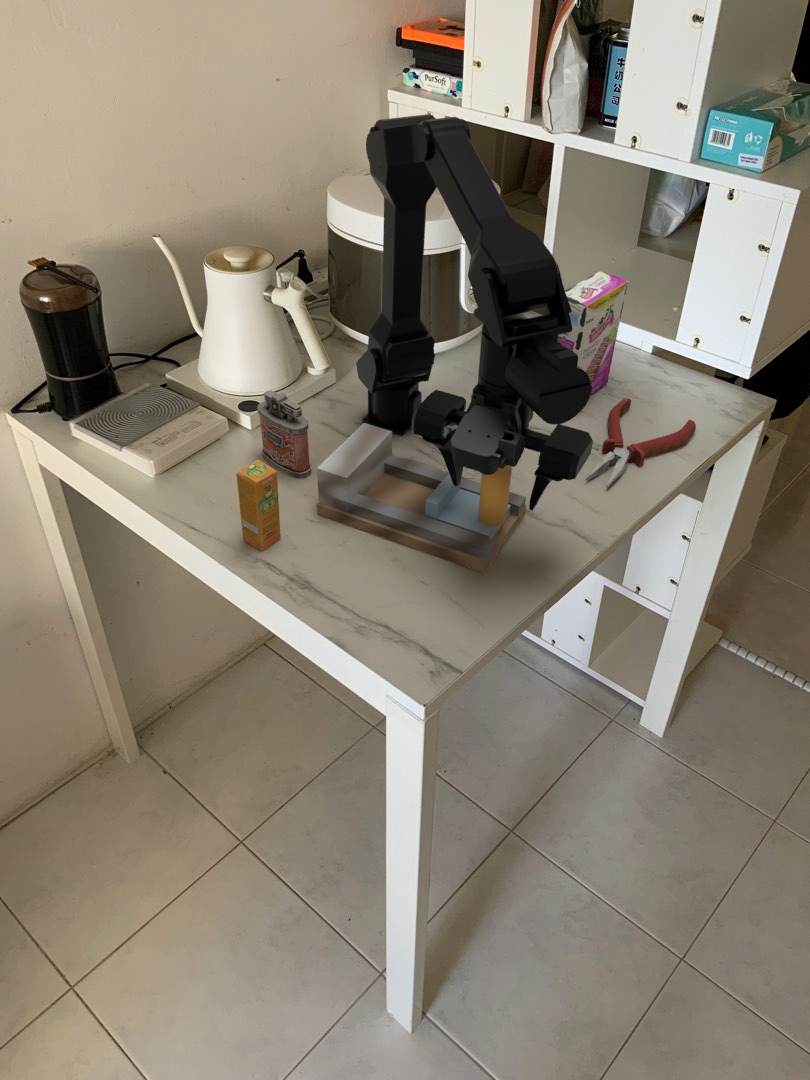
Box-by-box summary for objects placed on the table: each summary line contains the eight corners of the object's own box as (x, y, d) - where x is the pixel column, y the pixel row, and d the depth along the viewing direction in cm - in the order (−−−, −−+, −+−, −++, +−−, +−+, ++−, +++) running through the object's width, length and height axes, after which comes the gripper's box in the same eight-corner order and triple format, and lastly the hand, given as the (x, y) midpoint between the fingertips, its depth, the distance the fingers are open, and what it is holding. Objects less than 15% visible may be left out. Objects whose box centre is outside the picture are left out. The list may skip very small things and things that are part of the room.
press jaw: (424, 523, 102) (427, 464, 96) (448, 494, 106) (451, 436, 101) (492, 547, 99) (499, 487, 93) (514, 515, 103) (521, 457, 98)
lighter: (256, 456, 114) (248, 389, 108) (276, 446, 116) (270, 379, 110) (297, 482, 110) (292, 414, 104) (317, 471, 112) (313, 403, 106)
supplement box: (263, 553, 100) (254, 482, 93) (242, 540, 101) (232, 470, 95) (284, 538, 102) (277, 468, 95) (263, 526, 103) (255, 457, 97)
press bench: (317, 514, 105) (314, 470, 101) (366, 463, 113) (365, 420, 109) (485, 573, 98) (489, 528, 94) (524, 514, 106) (530, 470, 102)
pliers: (554, 475, 113) (557, 458, 111) (620, 408, 126) (623, 392, 124) (637, 508, 108) (641, 491, 106) (696, 435, 121) (701, 419, 119)
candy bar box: (568, 414, 123) (586, 306, 113) (539, 402, 126) (553, 294, 115) (610, 384, 130) (630, 279, 119) (581, 373, 132) (598, 268, 122)
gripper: (387, 386, 86) (387, 510, 96) (567, 437, 80) (547, 564, 90) (437, 339, 94) (431, 459, 104) (605, 382, 87) (582, 505, 98)
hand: (494, 495), depth 99 cm, fingers open, 9 cm apart
